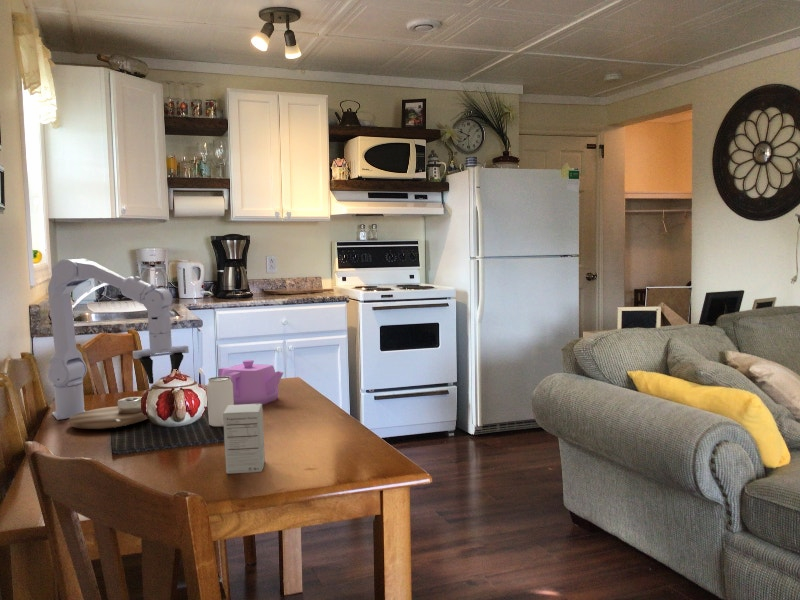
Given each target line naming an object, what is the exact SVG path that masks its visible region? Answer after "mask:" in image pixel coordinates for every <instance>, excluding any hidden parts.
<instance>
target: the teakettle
mask: <svg viewBox="0 0 800 600" xmlns="http://www.w3.org/2000/svg"><path fill="white" fill-rule="evenodd" d="M275 370H276V369H275V367H274V364H273V365H272V364H262V363H261V364H260V363H254V360H253V359H245V360H243V361H242V363H240V364H236V365H233V366H232V365H231V366H229V367H220V368H219V367H218V376H217V377H221V376H227V377H231V378H230V379H231V381H232V384H233V400H234V405H242V404H262V406H264V405H266V404H269V403H271V402H274V401H277V399H278V397H279V384H280V381H281V380H282V377H283V375H284V372H283V371H280V370H278V371H277V370H276V371H275Z"/></svg>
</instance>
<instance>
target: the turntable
mask: <svg viewBox="0 0 800 600" xmlns="http://www.w3.org/2000/svg"><path fill="white" fill-rule="evenodd" d="M146 420H148V418H147V417H146V415H144V414H143V413H142V412H141V413H137V414H119V413H118V405H117V406H108V407H102V408H101V407H100V408H94V409H89V410H85V412H81V413H78V414H76V415H73V416H72V417H70V418H68V421H69V423H68V424H69V426H71V427H73V428H76V429H84V430H85V429H88V430H93V429H98V428H110V427H118V426H124V425H129V424H131V425H133V424H136V423H139V422H143V421H146ZM129 426H130V425H129Z"/></svg>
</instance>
